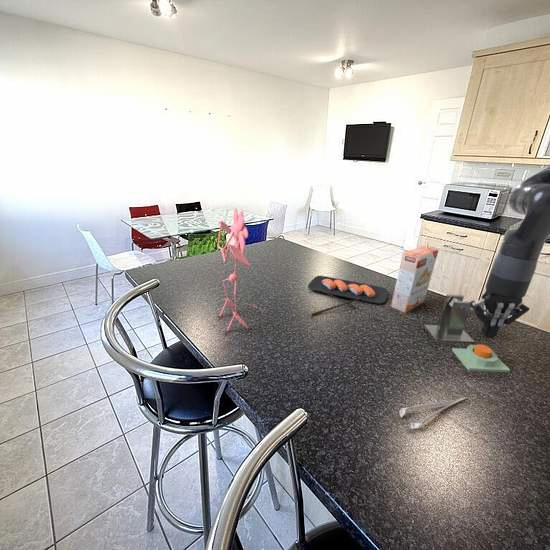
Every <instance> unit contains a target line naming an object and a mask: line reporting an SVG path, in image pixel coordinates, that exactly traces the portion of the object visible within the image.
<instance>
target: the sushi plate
mask: <svg viewBox="0 0 550 550" xmlns="http://www.w3.org/2000/svg"><path fill="white" fill-rule="evenodd" d="M307 288H308V289H309V290H311V291H315V292H318V293H319V292H320V293H323V294H327V295H328V296H330V297H332V298H334V299H336V300H338V301H339V302H341V304H337V305H334V306H331V307H328V308H324V309H321V310H318V311H315V312H312V313H311V316H316V315H319V314H321V313H325V312H328V311H330V310H334V309H336V308H339V307H342V306H344V305H348V306H350V307H351V308H353V309H356V310H359V311H361V312H365V310H363V309H362V308H359V307H357V306H355V305H353V304H351V303H353V302H356V301H361V302H365V303H371V304H377V305H383V304H385V303H386V302H387V298H388V293H389V292H388V289H387V288H385V287H382V286H379V285H373V284H368V283H363V282H357V281H352V280H346V279H341V278H337V277H331V276H325V275H316V276H315V277H313V279H312V280H311V281H310V282H309V283H308V285H307ZM337 296H338V297H337ZM339 297H343V298H347V299H352V300H350V301H348V302H347V301H345V300H344V299H341V298H339Z"/></svg>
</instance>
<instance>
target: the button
mask: <svg viewBox="0 0 550 550" xmlns="http://www.w3.org/2000/svg"><path fill="white" fill-rule="evenodd" d="M475 345H476V346H475V349H474V353H475V354H476V355H478V356H480V357H483V358H490V356H491V353H492V351H493V350H492V348H491V347H489V346H487V345H485V344H481V343H480V344H479V343H478V344H475Z"/></svg>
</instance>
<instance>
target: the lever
mask: <svg viewBox="0 0 550 550" xmlns="http://www.w3.org/2000/svg"><path fill="white" fill-rule="evenodd" d="M454 301H461V300H459V299H456V298H453V299H452V301H451V302H450V303H449V305H450V306H451V307H452V306H453V303H454ZM469 313H471V314H472V315H475V316H477V315H476V314H475V312H474V310H473V308H472V307H471V308H470V311H469ZM484 313H485V311H484ZM485 315H486V313H485Z"/></svg>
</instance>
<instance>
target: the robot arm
mask: <svg viewBox="0 0 550 550" xmlns="http://www.w3.org/2000/svg"><path fill="white" fill-rule="evenodd" d="M508 207H509V208H510V209H511V210H512V211H513V212H515V213H517V214H519V215H522V216H524V218H523V219H522V221H521V222H520V224H519V225H518V226H517V225H516V226H511V227H509V228H508V229H507V230H506V231H505V233H504V235H503V238H502V240H501V244H500V247H499V249H498V252H497V254H496V256H495V258H494V260H493V263H492V266H491V269H490V272H489V275H488V278H487V281H486V284H485V292H484V293H483V294H482V295H481V298H480V299H479V300H477V301H475V300H471V301H469V302H470V305H471V308H472V309H473V310H474V312H475V314H476V315H475V314H474V315H475V316H476V317H477V319H479V320H480V321H481V322H482V323H483V326H482V329H481V334H482V335H483V336H484V337H485V338H486V339H492V340H493V339H495V337H496V336H497V335H498V333H499V330H500V327H503V325H507V326H509V325H511V324H512V323H514V322H515V321H517V320H518V319H519V318H520V317H522V316H524V315H525V314H526V313H527V312H529V311H530V307H529V306H527V305H526V304H524V303H523V298H524V297H525V296H526V295H527V292H528V290H529V288H530V285H531V283H532V279H533V278H534V275H535V272H536V269H537V265H538V261H539V258H540V255H541V253H542V251H543V248H544V246H545V242H546V241H547V239H548V238H549V237H550V166H548V167H547V168H545V169H543V170H541V171H538V172H537V173H535V174H533V175H531V176H530V177H528V178H526V179H525V180H523V181H522V182H520V183H519V184H518V185H517V186H516V187H515V188H514V189H513V190H512V192H510V195H509V197H508ZM484 312H485V313H486V315H485V313H484Z"/></svg>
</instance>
